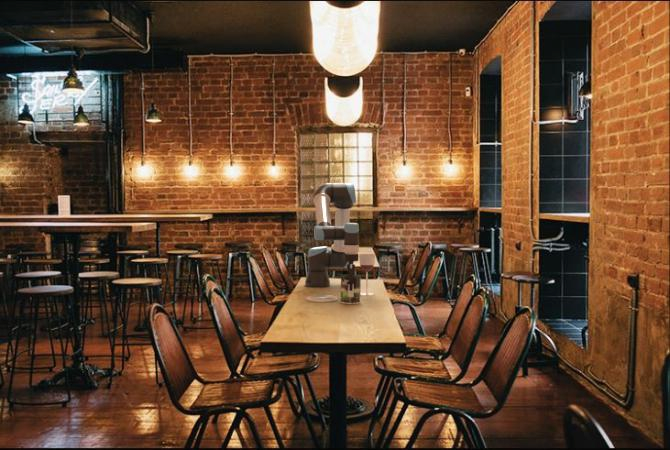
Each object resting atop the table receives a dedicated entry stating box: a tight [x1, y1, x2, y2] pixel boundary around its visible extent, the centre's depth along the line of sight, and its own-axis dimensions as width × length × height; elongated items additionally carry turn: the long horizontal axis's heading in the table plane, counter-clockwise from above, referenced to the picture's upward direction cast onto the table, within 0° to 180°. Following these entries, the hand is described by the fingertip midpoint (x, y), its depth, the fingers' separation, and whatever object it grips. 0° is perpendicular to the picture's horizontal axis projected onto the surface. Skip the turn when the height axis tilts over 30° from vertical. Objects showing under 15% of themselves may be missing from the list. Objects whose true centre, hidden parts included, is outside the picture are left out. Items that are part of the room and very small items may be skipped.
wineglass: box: [358, 253, 376, 296], centre depth 332 cm, size 9×10×22 cm
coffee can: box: [340, 273, 362, 305], centre depth 305 cm, size 10×10×14 cm
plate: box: [306, 294, 338, 303], centre depth 313 cm, size 16×16×1 cm
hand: (350, 294), depth 305 cm, fingers open, 13 cm apart
